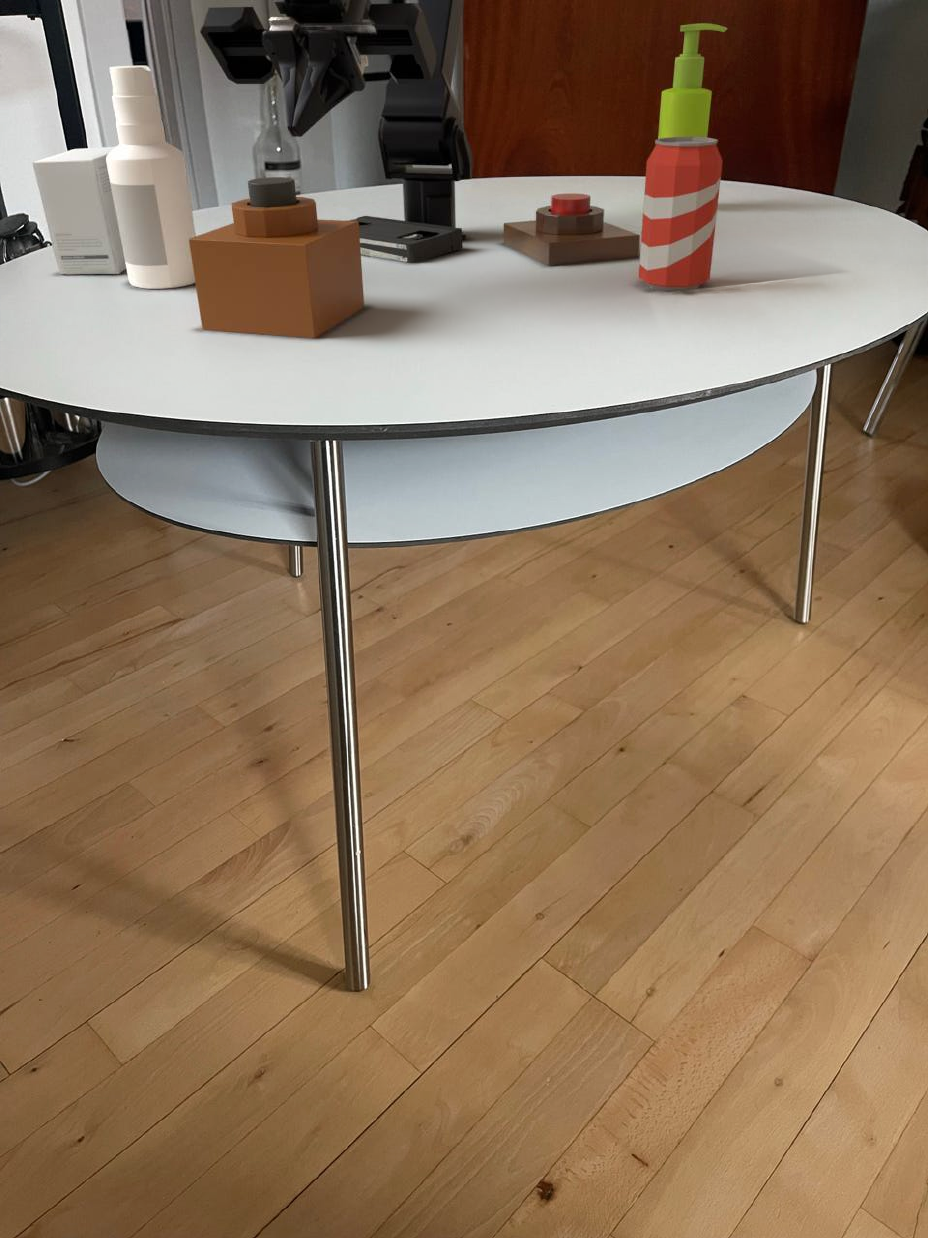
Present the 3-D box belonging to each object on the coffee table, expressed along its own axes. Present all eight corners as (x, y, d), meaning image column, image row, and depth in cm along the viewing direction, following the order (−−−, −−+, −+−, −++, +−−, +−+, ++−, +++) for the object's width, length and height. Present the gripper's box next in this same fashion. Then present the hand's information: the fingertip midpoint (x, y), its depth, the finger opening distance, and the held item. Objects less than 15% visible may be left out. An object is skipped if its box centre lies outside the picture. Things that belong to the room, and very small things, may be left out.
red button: (544, 212, 103) (545, 194, 102) (579, 210, 104) (580, 192, 103) (560, 219, 100) (561, 200, 99) (596, 216, 101) (597, 197, 100)
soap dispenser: (708, 212, 122) (728, 23, 112) (651, 211, 123) (666, 24, 113) (708, 204, 127) (727, 22, 117) (653, 203, 128) (667, 23, 118)
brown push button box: (260, 300, 88) (247, 190, 83) (364, 307, 85) (357, 194, 80) (202, 329, 80) (183, 210, 75) (314, 338, 77) (303, 215, 72)
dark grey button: (264, 203, 80) (261, 176, 79) (304, 205, 79) (302, 177, 78) (242, 211, 77) (239, 182, 76) (284, 213, 76) (281, 184, 75)
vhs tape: (316, 248, 108) (313, 229, 107) (366, 233, 113) (365, 215, 112) (412, 264, 100) (411, 243, 99) (462, 248, 105) (461, 228, 104)
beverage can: (624, 283, 91) (633, 139, 85) (677, 274, 94) (690, 134, 87) (668, 297, 86) (681, 145, 80) (722, 287, 89) (739, 140, 83)
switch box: (503, 244, 107) (503, 204, 105) (586, 236, 110) (588, 198, 108) (548, 266, 98) (549, 223, 96) (638, 257, 100) (641, 215, 98)
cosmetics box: (94, 253, 107) (72, 145, 101) (153, 252, 106) (134, 145, 101) (55, 275, 98) (28, 158, 92) (118, 274, 97) (96, 158, 92)
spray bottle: (137, 274, 97) (98, 65, 88) (207, 272, 98) (176, 63, 88) (122, 291, 92) (79, 69, 82) (197, 288, 92) (163, 67, 83)
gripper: (193, -115, 77) (138, 54, 74) (418, -128, 72) (369, 52, 69) (254, 4, 88) (209, 156, 84) (454, 0, 82) (414, 161, 79)
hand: (294, 132), depth 79 cm, fingers closed
